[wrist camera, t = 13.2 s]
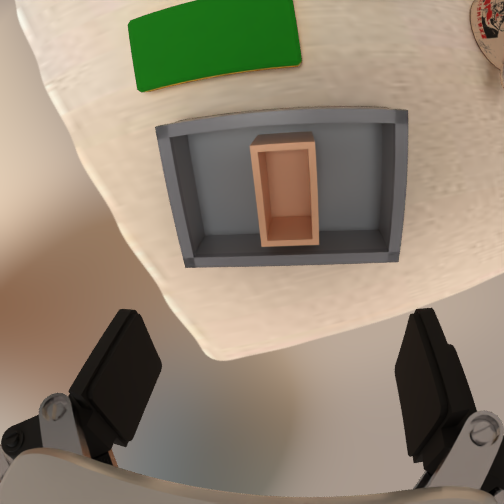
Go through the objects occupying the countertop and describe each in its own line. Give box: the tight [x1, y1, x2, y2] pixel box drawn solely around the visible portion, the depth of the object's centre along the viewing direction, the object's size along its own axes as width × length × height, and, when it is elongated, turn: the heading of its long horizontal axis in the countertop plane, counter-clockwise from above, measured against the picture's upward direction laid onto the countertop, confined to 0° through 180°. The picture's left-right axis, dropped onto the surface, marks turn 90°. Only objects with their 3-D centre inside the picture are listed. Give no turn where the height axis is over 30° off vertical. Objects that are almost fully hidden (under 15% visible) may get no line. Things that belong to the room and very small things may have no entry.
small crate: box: [250, 131, 319, 247], centre depth 25 cm, size 4×8×5 cm, turn 6°
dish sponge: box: [128, 0, 302, 92], centre depth 21 cm, size 7×14×2 cm, turn 98°
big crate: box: [155, 106, 408, 268], centre depth 25 cm, size 18×12×5 cm
